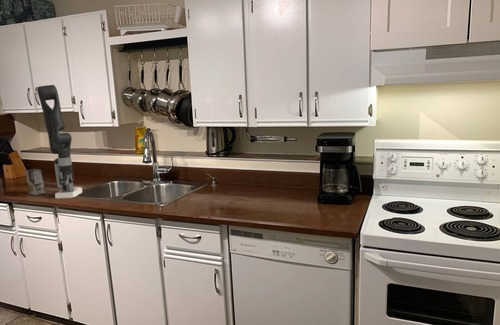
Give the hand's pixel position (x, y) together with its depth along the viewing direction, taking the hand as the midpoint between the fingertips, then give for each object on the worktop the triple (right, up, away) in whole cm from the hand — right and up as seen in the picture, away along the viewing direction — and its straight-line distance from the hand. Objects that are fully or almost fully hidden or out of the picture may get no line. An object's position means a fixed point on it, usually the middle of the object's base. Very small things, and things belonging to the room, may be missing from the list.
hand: (68, 189), depth 241 cm
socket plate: (0, -4, +2) cm, 4 cm away
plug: (0, -3, +1) cm, 3 cm away
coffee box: (-25, -4, +9) cm, 27 cm away
